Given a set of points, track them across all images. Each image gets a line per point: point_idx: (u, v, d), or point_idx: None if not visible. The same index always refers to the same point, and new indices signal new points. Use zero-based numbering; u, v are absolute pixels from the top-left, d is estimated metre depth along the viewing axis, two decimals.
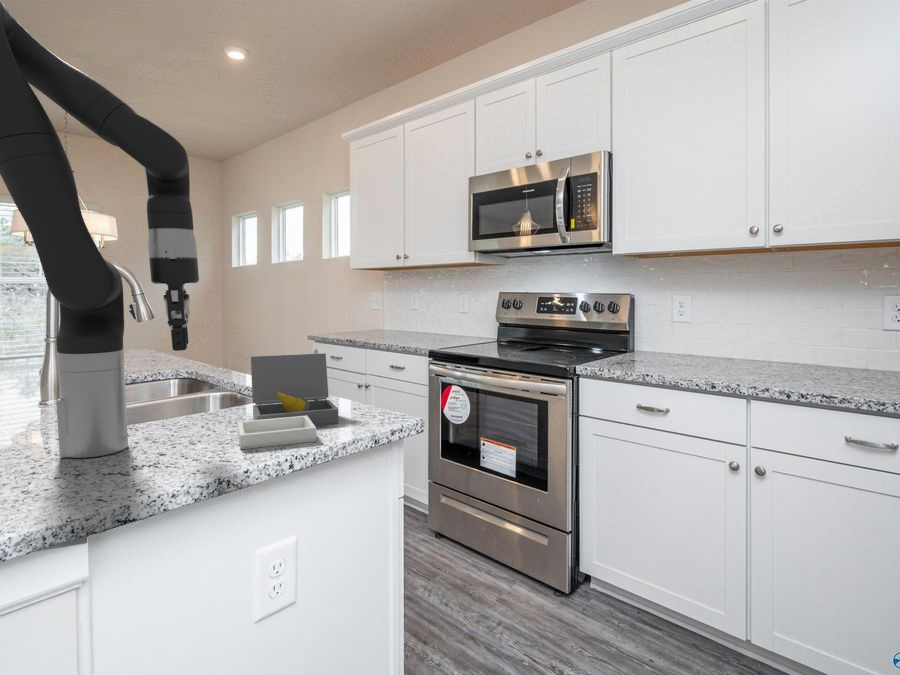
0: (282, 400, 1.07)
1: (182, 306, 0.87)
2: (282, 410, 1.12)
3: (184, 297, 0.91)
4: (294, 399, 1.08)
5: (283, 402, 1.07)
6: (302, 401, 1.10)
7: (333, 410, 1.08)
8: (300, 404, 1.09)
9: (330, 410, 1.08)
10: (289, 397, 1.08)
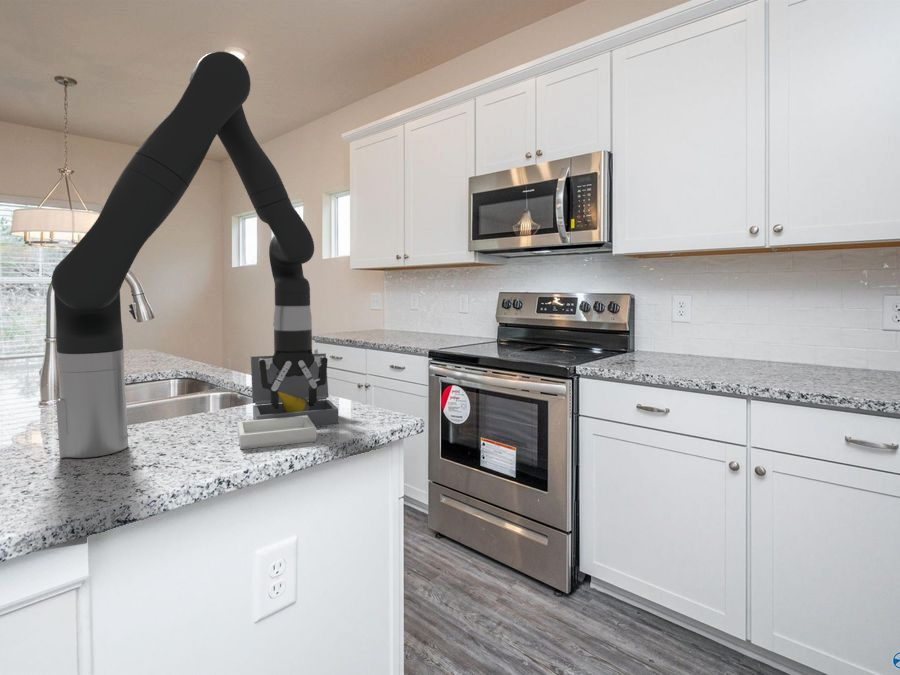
0: (282, 400, 1.07)
1: None
2: (282, 410, 1.12)
3: None
4: (294, 399, 1.08)
5: (283, 402, 1.07)
6: (302, 401, 1.10)
7: (333, 410, 1.08)
8: (300, 404, 1.09)
9: (330, 410, 1.08)
10: (289, 397, 1.08)
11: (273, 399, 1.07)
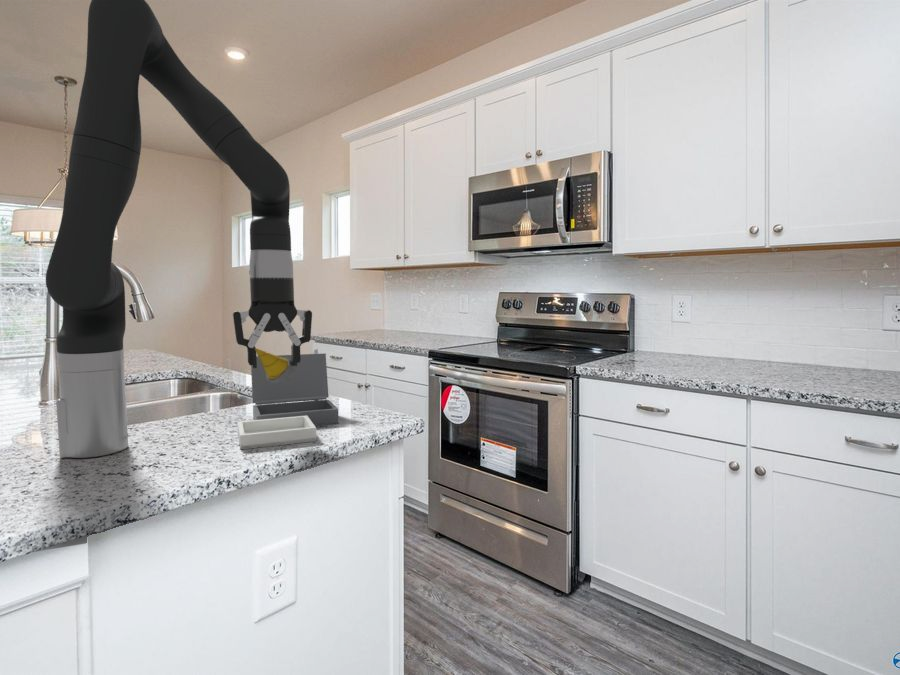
0: (261, 358, 0.94)
1: None
2: (282, 410, 1.12)
3: None
4: (275, 357, 0.95)
5: (262, 360, 0.94)
6: (284, 360, 0.97)
7: (333, 410, 1.08)
8: (282, 363, 0.96)
9: (330, 410, 1.08)
10: (269, 355, 0.95)
11: (250, 357, 0.94)
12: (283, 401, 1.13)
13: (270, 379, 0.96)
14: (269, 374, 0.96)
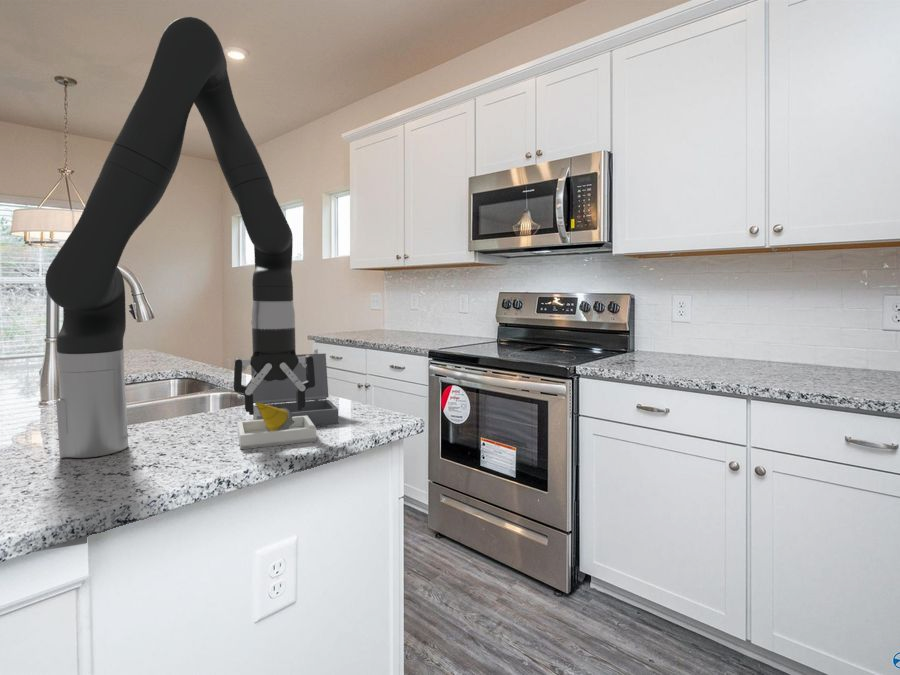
0: (261, 411, 0.95)
1: None
2: None
3: None
4: (275, 410, 0.96)
5: (262, 413, 0.95)
6: (284, 412, 0.98)
7: (333, 410, 1.08)
8: (282, 415, 0.97)
9: (330, 410, 1.08)
10: (269, 407, 0.96)
11: (247, 404, 0.94)
12: (283, 401, 1.13)
13: None
14: (269, 426, 0.96)
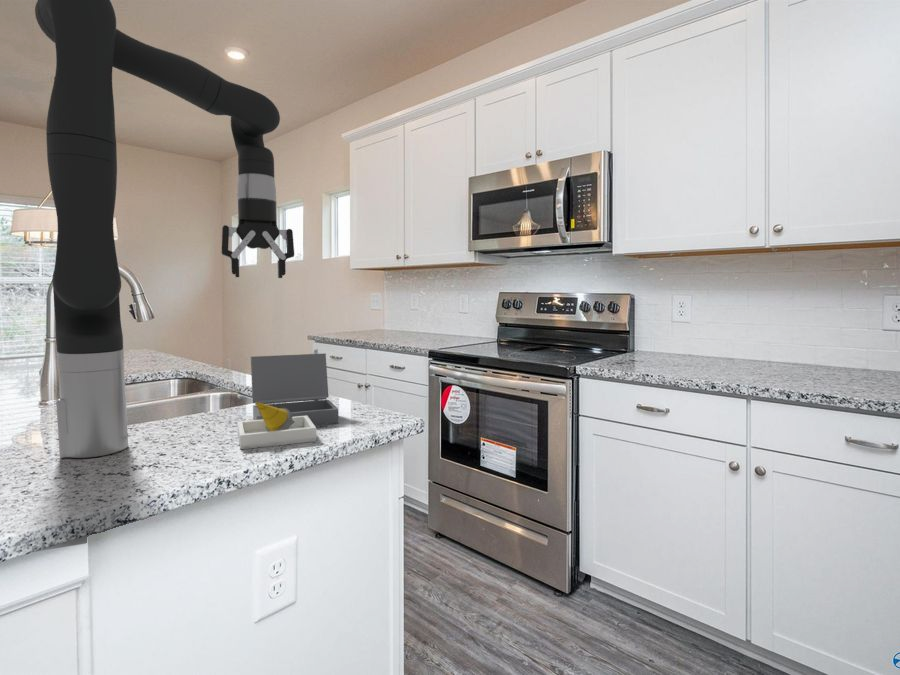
0: (261, 411, 0.95)
1: None
2: None
3: None
4: (275, 410, 0.96)
5: (262, 413, 0.95)
6: (284, 412, 0.98)
7: (333, 410, 1.08)
8: (282, 415, 0.97)
9: (330, 410, 1.08)
10: (269, 407, 0.96)
11: (233, 267, 1.07)
12: (283, 401, 1.13)
13: None
14: (269, 426, 0.96)
